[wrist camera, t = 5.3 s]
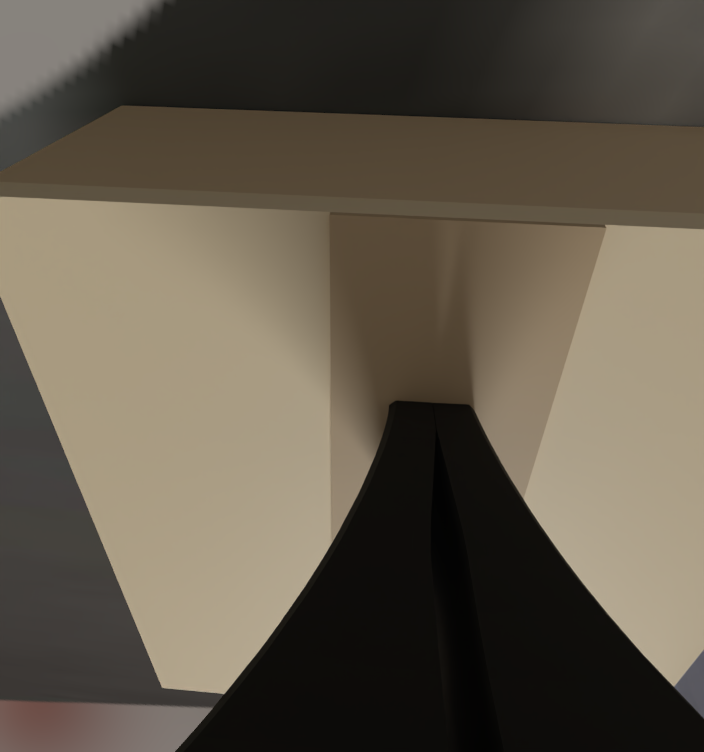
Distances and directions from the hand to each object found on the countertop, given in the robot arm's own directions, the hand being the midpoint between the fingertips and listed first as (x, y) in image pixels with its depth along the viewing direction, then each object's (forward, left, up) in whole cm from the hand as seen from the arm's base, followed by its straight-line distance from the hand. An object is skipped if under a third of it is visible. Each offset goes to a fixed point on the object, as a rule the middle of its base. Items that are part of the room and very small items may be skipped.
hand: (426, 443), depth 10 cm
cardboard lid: (0, +3, -1) cm, 3 cm away
